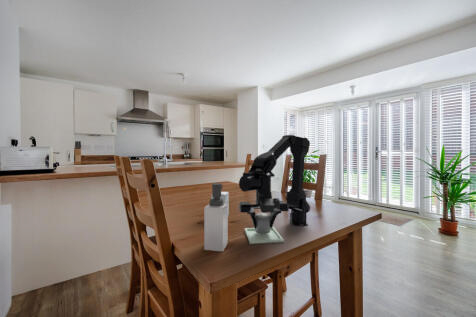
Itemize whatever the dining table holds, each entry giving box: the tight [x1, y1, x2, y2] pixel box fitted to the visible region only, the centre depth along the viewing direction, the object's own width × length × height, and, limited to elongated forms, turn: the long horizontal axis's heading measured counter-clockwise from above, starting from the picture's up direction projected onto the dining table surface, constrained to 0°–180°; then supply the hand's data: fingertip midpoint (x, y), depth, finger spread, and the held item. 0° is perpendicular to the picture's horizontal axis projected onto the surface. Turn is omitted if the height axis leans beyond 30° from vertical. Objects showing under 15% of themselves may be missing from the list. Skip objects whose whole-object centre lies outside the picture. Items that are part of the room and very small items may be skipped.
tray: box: [244, 226, 285, 245], centre depth 84 cm, size 13×13×1 cm
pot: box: [255, 212, 270, 234], centre depth 84 cm, size 6×6×7 cm
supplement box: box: [210, 191, 230, 215], centre depth 106 cm, size 7×7×13 cm
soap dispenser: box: [203, 182, 229, 252], centre depth 75 cm, size 6×9×22 cm
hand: (263, 228), depth 84 cm, fingers closed on pot, 6 cm apart
